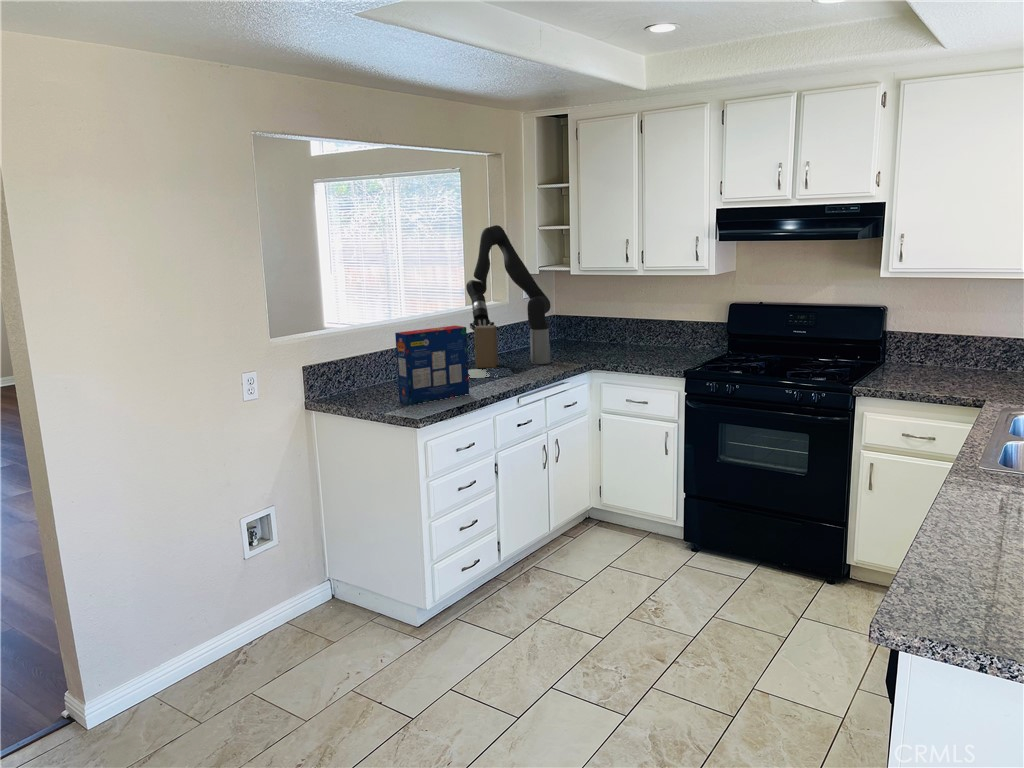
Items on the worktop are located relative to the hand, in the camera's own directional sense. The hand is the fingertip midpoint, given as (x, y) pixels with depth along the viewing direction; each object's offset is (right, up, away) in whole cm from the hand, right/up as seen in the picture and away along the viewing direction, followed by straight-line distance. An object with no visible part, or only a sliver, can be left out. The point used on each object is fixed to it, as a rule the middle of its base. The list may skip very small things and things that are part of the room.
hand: (484, 338), depth 383 cm
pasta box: (-17, -29, -72) cm, 80 cm away
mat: (+3, -18, -22) cm, 28 cm away
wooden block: (+2, -14, -5) cm, 15 cm away
